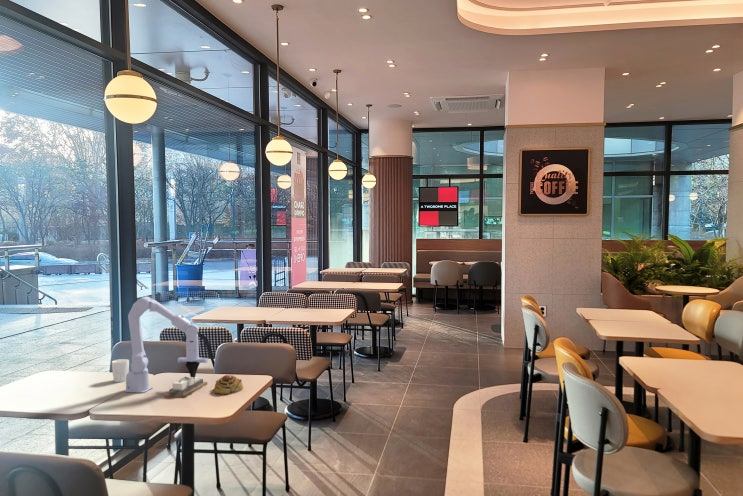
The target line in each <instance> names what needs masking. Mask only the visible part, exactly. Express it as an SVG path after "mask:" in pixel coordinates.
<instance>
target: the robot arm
mask: <svg viewBox="0 0 743 496" xmlns="http://www.w3.org/2000/svg"><path fill="white" fill-rule="evenodd" d="M146 311H148V312H153V313H154V312H157V313H158V314H160V315H161V316H163V317H165V318H166V319H168V320H170V322H171V325H172V326H174V327H175V328H177V329H178V330H180V331H181V332H182V333H184V334H185V336H186V337H185V338H186V339H185V353H186V354H185V357H178V358H177V363H185V365H184V366H185V367H186V369H187V371H188V373H189V377H197V376H196V375H197V372H198V368H199V365H200V364H201V363H203V364H207V363H209V361H208V360H209V358H207V357H206V358H205V357H200V354H199V353H200V351H199V350H200V349H199V348H200V347H199V346H200V345H199V334H198V333H199V326H198V324H196V323H193V321H192V320H189V319H188V318H186V317H185V315H184V314H182V315H181V314H175V313H174V312H173V311H171V310H169V309H168V308H167V307H165V306H164V305H162V303H160V302H158V301H157V300H156V299H153V298H152V297H150V296H148V295H146V296H145V295H144V296H142V297H141V298H139V299H137V300H136V301H135V302H133V304H132V306H131V309H130V310H129V312H128V315H127V318H128V326H129V334H130V335H129V336H130V343H131V344H130V345H131V349H132V350H131V351H132V355H131V364H130V370H129V372H128V373H127V375H126V381H125V391H124V393H138V394H139V393H142V394H143V393H145V392H147V391H149V390H151V389H153V386H150V385H149V383H150V382H149V369H148V366H149V361H150V360H149V358H148V357H147V354H146V351H145V349H144V348H145V347H144V340H143V333H142V325H141V317H142V315H143V314H144V313H145V312H146Z"/></svg>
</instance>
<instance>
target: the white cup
mask: <svg viewBox="0 0 743 496" xmlns="http://www.w3.org/2000/svg"><path fill="white" fill-rule="evenodd" d="M111 367H112V369H111V371H112V377H113V382H114V383H123V382H124V383H125V382H126V375H127V373H128V372H130V359H127V358H120V359H114V360H112V361H111Z"/></svg>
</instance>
